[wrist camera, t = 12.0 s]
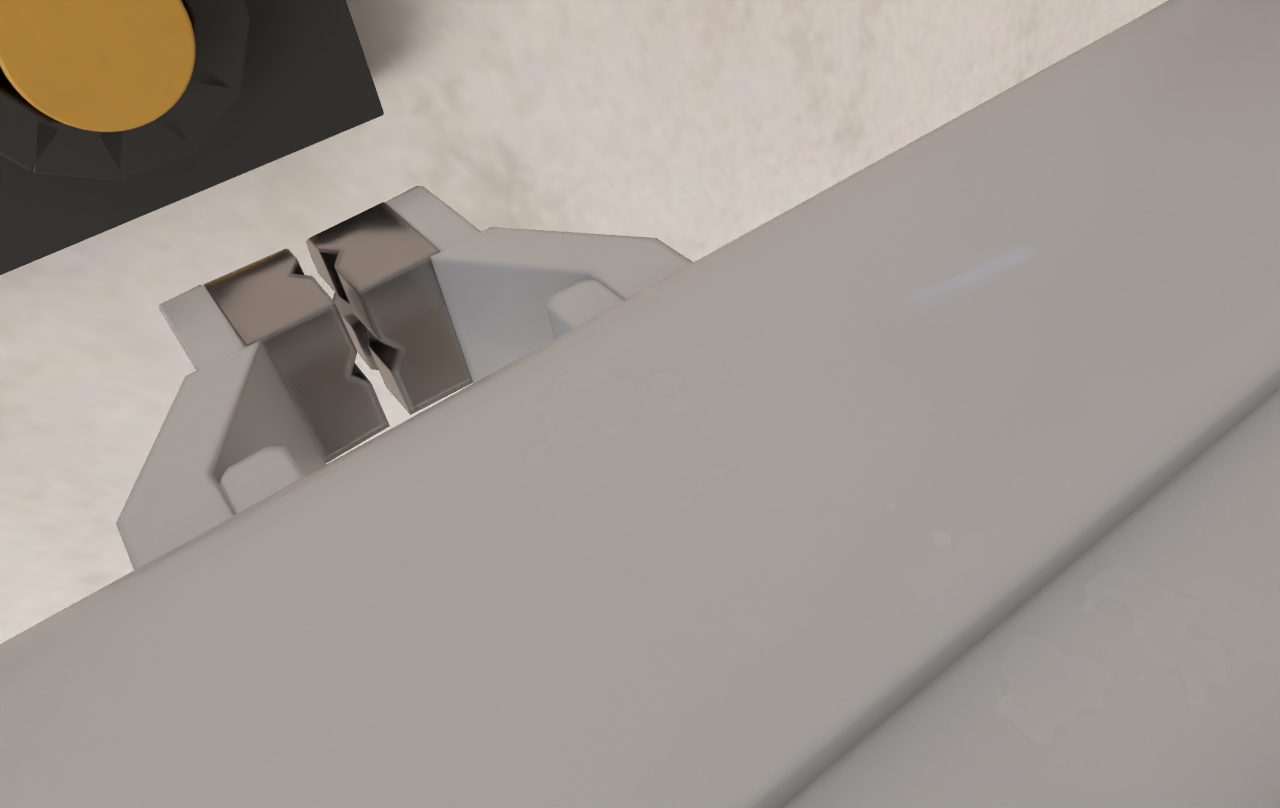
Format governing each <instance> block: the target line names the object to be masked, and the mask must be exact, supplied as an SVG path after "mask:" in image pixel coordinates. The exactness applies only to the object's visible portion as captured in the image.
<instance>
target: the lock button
mask: <svg viewBox="0 0 1280 808" xmlns="http://www.w3.org/2000/svg"><path fill="white" fill-rule="evenodd" d="M195 48H196V46H195V37H194V32H193V28H192V24H191V21H190V18H189V16H188V13H187V11H186V9H185V7H184V5H183V3H182V1H181V0H0V67H1V69H2V70H3V72H4V74H5V76H6V77H7V78H8V80H9V81H10V83H11V84H12V86H13V87H14V88H15V89H16V90H17V91H18V92H19V93H20V95H21V96H22V97H23V98H25V99H26V100H27V101H28V102H29V103H30V104H31V105H32V106H34V107H35V108H37V109H38V110H40V111H41V112H42V113H44V114H46V115H47V116H49V117H51V118H53V119H55V120H57V121H59V122H62V123H64V124H66V125H69V126H73V127H76V128H79V129H84V130H90V131H99V132H115V131H124V130H129V129H133V128H137V127H140V126H143V125H145V124H147V123H150V122H152V121H154V120H155V119H157V118H159V117H160V116H162V115H163V114H164V113H166V112H167V111H168V110H169V109H170V108H172V107H173V105H174V104H175V103H176V102H177V101H178V100H179V99H180V97H181V96H182V94H183V93H184V91H185V90H186V87H187V85H188V83H189V81H190V79H191V75H192V72H193V69H194V63H195Z"/></svg>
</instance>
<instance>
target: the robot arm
mask: <svg viewBox="0 0 1280 808" xmlns="http://www.w3.org/2000/svg"><path fill="white" fill-rule="evenodd" d="M306 243H307V246H308V249H309V252H310V255H311V257H312V260H313V262H314V264H315V267H316V269H317V271H318V273H319V274H320V276H321V277H322V278H323V279H324V280H325V281H326V282H327V284H328V285H329V286H330V287H331V288H332V289H333V290H334V292H335V293H334V297H333V300H332V299H331V298H330V297H329V295H328V294H327V293H326V292H325V291H324V289H323V288H322V287H321V286H320V285H319V284H318V282H317V281H316V280H315V279H314V278H313V277H312V276H307V275H304V273H303V271H302V269H301V267H300V265H299V262H298V260H297V258H296V257H295V256H294V255H293V254H292V253H291V252H290V251H289V250H288V249H284V250H282V251H279V252H277V253H275V254H273V255H270V256H268V257H266V258H263V259H261V260H259V261H256V262H254V263H252V264H250V265H247V266H245V267H243V268H240V269H238V270H236V271H233V272H231V273H229V274H227V275H224V276H222V277H220V278H217V279H215V280H213V281H210V282H208V283H206V284H204V286H202V285H199V286H197V287H195V288H193V289H190V290H188V291H186V292H184V293H182V294H180V295H178V296H176V297H174V298H172V299H170V300H168V301H166V302H164V303H162V304H160V305H159V308H160V311H161V312H162V314H163V316H164V317H165V319H166V321H167V322H168V324H169V326H170V327H171V329H172V331H173V332H174V334H175V336H176V337H177V339H178V341H179V342H180V344H181V346H182V347H183V349H184V351H185V352H186V354H187V356H188V357H189V359H190V361H191V362H192V364H193V366H194V367H195V369H196V371H195V372H193V373H191V374H189V375H187V376H186V377H185V378H184V380H183V382H182V384H181V387H180V389H179V391H178V393H177V395H176V397H175V399H174V401H173V404H172V406H171V408H170V410H169V412H168V414H167V416H166V418H165V421H164V423H163V425H162V427H161V429H160V431H159V433H158V435H157V438H156V440H155V442H154V444H153V446H152V448H151V450H150V452H149V455H148V457H147V459H146V461H145V463H144V465H143V467H142V469H141V472H140V474H139V476H138V478H137V480H136V482H135V484H134V486H133V489H132V491H131V493H130V495H129V497H128V499H127V501H126V503H125V506H124V508H123V510H122V512H121V514H120V516H119V518H118V520H117V523H116V524H117V527H118V529H119V532H120V535H121V537H122V540H123V542H124V545H125V548H126V550H127V553H128V555H129V558H130V560H131V563H132V566H133V568H134V571H132V572H130V573H129V574H127V575H125V576H123V577H121V578H120V579H118V580H116V581H114V582H112V583H110V584H109V585H107V586H105V587H103V588H101V589H100V590H98V591H96V592H94V593H92V594H90V595H89V596H87V597H85V598H83V599H81V600H80V601H78V602H76V603H74V604H72V605H70V606H69V607H67V608H65V609H63V610H61V611H60V612H58V613H56V614H54V615H52V616H51V617H49V618H47V619H45V620H43V621H41V622H40V623H38V624H36V625H34V626H32V627H31V628H29V629H27V630H25V631H23V632H22V633H20V634H18V635H16V636H14V637H12V638H11V639H9V640H7V641H5V642H3V643H2V644H0V808H1280V0H1168V1H1166V2H1164V3H1163V4H1161V5H1159V6H1157V7H1156V8H1154V9H1152V10H1150V11H1149V12H1147V13H1145V14H1143V15H1142V16H1140V17H1138V18H1136V19H1135V20H1133V21H1131V22H1129V23H1127V24H1126V25H1124V26H1122V27H1120V28H1118V29H1116V30H1115V31H1113V32H1111V33H1109V34H1107V35H1106V36H1104V37H1102V38H1100V39H1098V40H1096V41H1095V42H1093V43H1091V44H1089V45H1087V46H1086V47H1084V48H1082V49H1080V50H1078V51H1076V52H1075V53H1073V54H1071V55H1069V56H1067V57H1065V58H1064V59H1062V60H1060V61H1058V62H1056V63H1055V64H1053V65H1051V66H1049V67H1047V68H1045V69H1044V70H1042V71H1040V72H1038V73H1036V74H1035V75H1033V76H1031V77H1029V78H1027V79H1025V80H1024V81H1022V82H1020V83H1018V84H1016V85H1015V86H1013V87H1011V88H1009V89H1007V90H1005V91H1004V92H1002V93H1000V94H998V95H996V96H995V97H993V98H991V99H989V100H987V101H986V102H984V103H982V104H980V105H978V106H976V107H975V108H973V109H971V110H969V111H967V112H966V113H964V114H962V115H960V116H958V117H957V118H955V119H953V120H951V121H949V122H947V123H946V124H944V125H942V126H940V127H938V128H937V129H935V130H933V131H931V132H929V133H927V134H926V135H924V136H922V137H920V138H918V139H917V140H915V141H913V142H911V143H909V144H908V145H906V146H904V147H902V148H900V149H898V150H897V151H895V152H893V153H891V154H889V155H888V156H886V157H884V158H882V159H880V160H878V161H877V162H875V163H873V164H871V165H869V166H868V167H866V168H864V169H862V170H860V171H859V172H857V173H855V174H853V175H851V176H849V177H848V178H846V179H844V180H842V181H840V182H839V183H837V184H835V185H833V186H831V187H829V188H828V189H826V190H824V191H822V192H820V193H819V194H817V195H815V196H813V197H811V198H810V199H808V200H806V201H804V202H802V203H800V204H799V205H797V206H795V207H793V208H791V209H790V210H788V211H786V212H784V213H782V214H780V215H779V216H777V217H775V218H773V219H771V220H770V221H768V222H766V223H764V224H762V225H761V226H759V227H757V228H755V229H753V230H751V231H750V232H748V233H746V234H744V235H742V236H741V237H739V238H737V239H735V240H733V241H732V242H730V243H728V244H726V245H724V246H722V247H721V248H719V249H717V250H715V251H713V252H712V253H710V254H708V255H706V256H704V257H702V258H701V259H699V260H697V261H695V262H692V261H690V260H689V259H687V258H686V257H684V256H683V255H681V254H680V253H678V252H677V251H675V250H674V249H672V248H671V247H669V246H667V245H666V244H664V243H663V242H661V241H660V240H658V239H657V238H646V237H631V236H616V235H601V234H587V233H572V232H557V231H542V230H528V229H513V228H498V227H491V228H488V229H486V230H484V231H482V232H481V231H480V230H478V229H477V228H476V227H475V226H473V225H472V224H471V223H469V222H468V221H467V220H466V219H464V218H463V217H462V216H460V215H459V214H458V213H457V212H455V211H454V210H453V209H452V208H450V207H449V206H448V205H446V204H445V203H444V202H443V201H441V200H440V199H439V198H438V197H436V196H435V195H434V194H432V193H431V192H430V191H429V190H427V189H426V188H425V187H423V186H416V187H414V188H412V189H410V190H408V191H406V192H404V193H402V194H400V195H398V196H396V197H394V198H392V199H390V200H389V201H387V202H385V203H384V202H383V203H380V204H378V205H376V206H374V207H372V208H370V209H368V210H366V211H364V212H362V213H360V214H358V215H356V216H354V217H352V218H350V219H348V220H346V221H343V222H341V223H339V224H337V225H335V226H333V227H331V228H329V229H327V230H325V231H323V232H321V233H319V234H317V235H315V236H313V237H311V238H309V239H308V240H307V241H306ZM357 352H358V353H359V354H360V356H361V357H362V359H363V360H364V361H365V362H366V363H367V365H368V366H369V367H370V368H371V369H374V370H379V371H380V374H381V376H382V378H383V380H384V383H385V385H386V387H387V388H388V390H389V391H390V392H391V393H392V394H393V395H394V396H395V398H396V399H397V400H398V401H399V402H400V403H401V405H402V406H403V407H404V408H405V409H406V410H407V411H408V413H409V414H410V415H411V414H413V413H415V412H417V411H419V410H421V409H423V408H425V407H426V406H428V405H430V404H432V403H434V402H436V401H438V400H440V399H442V398H444V397H446V396H448V395H450V394H452V393H454V392H455V391H457V390H459V389H461V388H463V387H465V386H467V385H469V384H471V383H474V384H472V385H470V386H468V387H467V388H465V389H463V390H461V391H459V392H457V393H456V394H454V395H452V396H450V397H448V398H447V399H445V400H443V401H441V402H439V403H437V404H436V405H434V406H432V407H430V408H428V409H427V410H425V411H423V412H421V413H419V414H418V415H416V416H414V417H412V418H410V419H408V420H407V421H405V422H403V423H401V424H399V425H398V426H396V427H394V428H392V429H390V430H388V431H387V432H385V433H383V434H381V435H379V436H378V437H376V438H374V439H372V440H370V441H368V442H367V443H365V444H363V445H361V446H359V447H358V448H356V449H354V450H352V451H350V452H348V453H347V454H345V455H343V456H341V457H339V458H338V459H336V460H334V461H332V462H330V463H328V464H327V465H326V463H327V462H329V461H331V460H332V459H334V458H336V457H338V456H339V455H341V454H343V453H344V452H346V451H348V450H350V449H351V448H353V447H355V446H356V445H358V444H360V443H362V442H363V441H365V440H367V439H368V438H370V437H372V436H374V435H375V434H377V433H379V432H380V431H382V430H384V429H386V428H387V427H389V423H388V421H387V419H386V416H385V414H384V412H383V409H382V407H381V405H380V402H379V400H378V398H377V396H376V393H375V391H374V389H373V386H372V384H371V383H370V381H369V380H368V379H367V378H366V376H365V375H364V374H363V373H362V371H361V370H360V369H359V368H358V367H357V365H356V364H355V363H354V362H355V358H356V355H357Z"/></svg>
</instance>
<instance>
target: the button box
mask: <svg viewBox="0 0 1280 808" xmlns="http://www.w3.org/2000/svg"><path fill="white" fill-rule="evenodd" d="M181 1H182V3H183V5H184V7H185V9H186V11H187V13H188V16H189V18H190V21H191V24H192V28H193V32H194V37H195V46H196V48H195V63H194V69H193V72H192V75H191V79H190V81H189V83H188V85H187V87H186V90H185V91H184V93H183V94H182V96H181V97H180V99H179V100H178V101H177V102H176V103H175V104H174V105H173V107H172V108H170V109H169V110H168V111H167V112H166V113H164V114H163V115H162V116H160V117H159V118H157V119H155V120H154V121H152V122H150V123H147V124H145V125H143V126H140V127H137V128H133V129H129V130H124V131H115V132H99V131H90V130H84V129H79V128H76V127H73V126H69V125H66V124H64V123H62V122H59V121H57V120H55V119H53V118H51V117H49V116H47V115H46V114H44V113H42V112H41V111H40V110H38V109H37V108H35V107H34V106H32V105H31V104H30V103H29V102H28V101H27V100H26V99H25V98H23V97H22V96H21V95H20V93H19V92H18V91H17V90H16V89H15V88H14V87H13V86H12V84H11V83H10V81H9V80H8V78H7V77H6V76H5V74H4V72H3V70H2V69H1V67H0V275H2V274H4V273H7V272H9V271H11V270H14V269H16V268H19V267H21V266H23V265H26V264H28V263H30V262H33V261H35V260H38V259H40V258H42V257H45V256H47V255H50V254H52V253H54V252H57V251H59V250H62V249H64V248H66V247H69V246H71V245H74V244H76V243H78V242H81V241H83V240H85V239H88V238H90V237H93V236H95V235H97V234H100V233H102V232H105V231H107V230H109V229H112V228H114V227H117V226H119V225H121V224H124V223H126V222H129V221H131V220H133V219H136V218H138V217H140V216H143V215H145V214H148V213H150V212H152V211H155V210H157V209H160V208H162V207H164V206H167V205H169V204H172V203H174V202H176V201H179V200H181V199H184V198H186V197H188V196H191V195H193V194H195V193H198V192H200V191H203V190H205V189H207V188H210V187H212V186H215V185H217V184H219V183H222V182H224V181H227V180H229V179H231V178H234V177H236V176H239V175H241V174H243V173H246V172H248V171H250V170H253V169H255V168H258V167H260V166H262V165H265V164H267V163H270V162H272V161H274V160H277V159H279V158H282V157H284V156H286V155H289V154H291V153H294V152H296V151H298V150H301V149H303V148H305V147H308V146H310V145H313V144H315V143H317V142H320V141H322V140H325V139H327V138H329V137H332V136H334V135H337V134H339V133H341V132H344V131H346V130H348V129H351V128H353V127H356V126H358V125H360V124H363V123H365V122H368V121H370V120H372V119H375V118H377V117H380V116H382V115H383V114H384V112H383V109H382V106H381V103H380V100H379V97H378V94H377V91H376V88H375V85H374V82H373V80H372V77H371V74H370V71H369V68H368V65H367V62H366V59H365V56H364V53H363V50H362V47H361V44H360V41H359V38H358V35H357V32H356V30H355V27H354V24H353V21H352V18H351V15H350V12H349V9H348V6H347V3H346V0H181Z"/></svg>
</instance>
